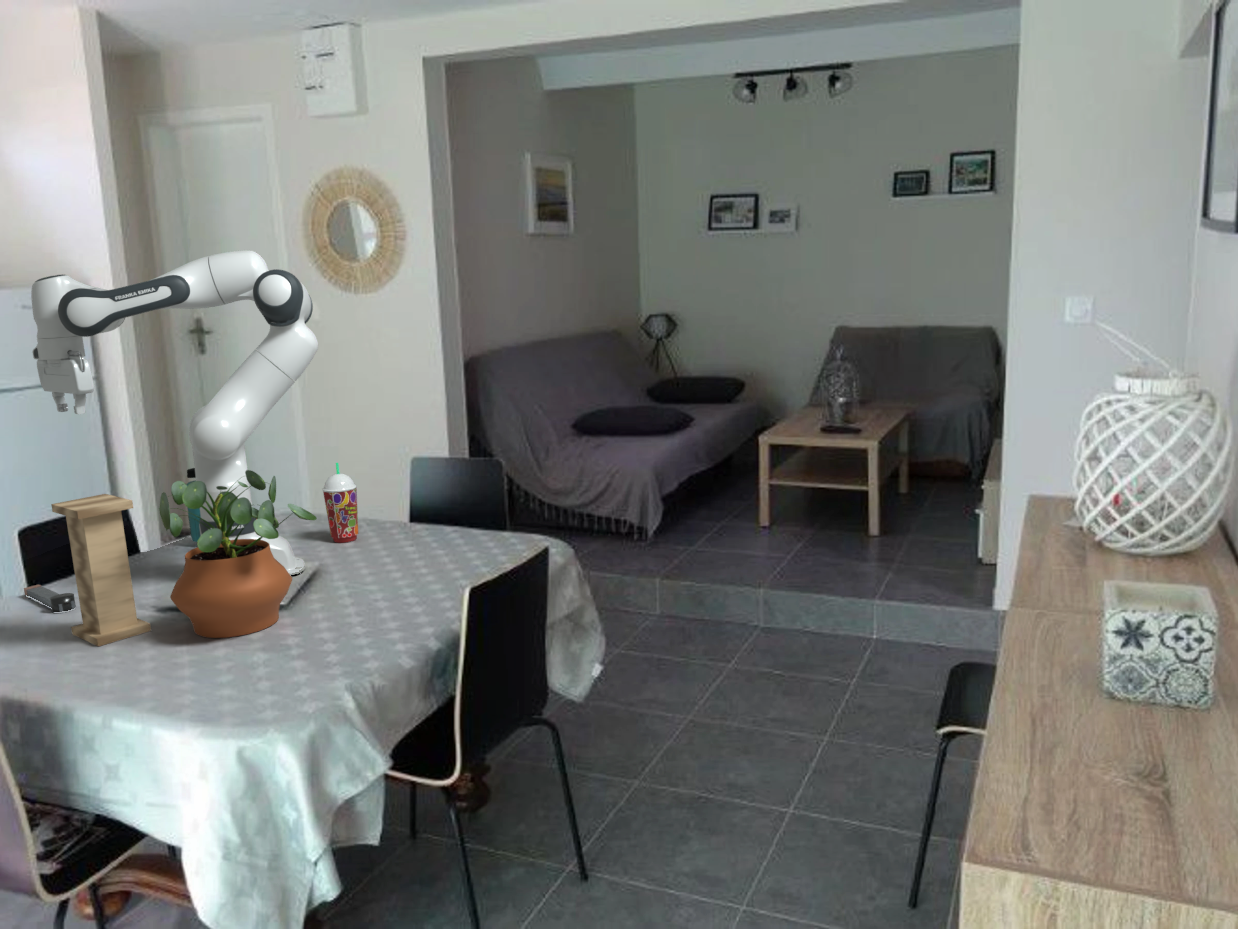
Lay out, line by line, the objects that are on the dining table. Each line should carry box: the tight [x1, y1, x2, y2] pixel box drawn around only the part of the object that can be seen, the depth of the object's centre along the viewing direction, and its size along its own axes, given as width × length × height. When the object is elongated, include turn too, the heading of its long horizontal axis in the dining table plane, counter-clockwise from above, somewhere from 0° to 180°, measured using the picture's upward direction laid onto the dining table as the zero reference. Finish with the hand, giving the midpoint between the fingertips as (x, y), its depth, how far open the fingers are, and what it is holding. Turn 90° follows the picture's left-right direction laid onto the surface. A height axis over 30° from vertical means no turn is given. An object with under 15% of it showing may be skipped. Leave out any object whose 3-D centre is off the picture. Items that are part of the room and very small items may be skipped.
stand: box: [51, 493, 152, 648], centre depth 198 cm, size 12×10×26 cm
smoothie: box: [322, 462, 359, 544], centre depth 260 cm, size 8×8×20 cm
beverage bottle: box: [185, 467, 201, 543], centre depth 263 cm, size 6×7×20 cm
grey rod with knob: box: [23, 584, 77, 613], centre depth 221 cm, size 20×4×3 cm, turn 48°
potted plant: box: [158, 469, 317, 639], centre depth 199 cm, size 23×28×30 cm
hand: (71, 412), depth 229 cm, fingers open, 8 cm apart
